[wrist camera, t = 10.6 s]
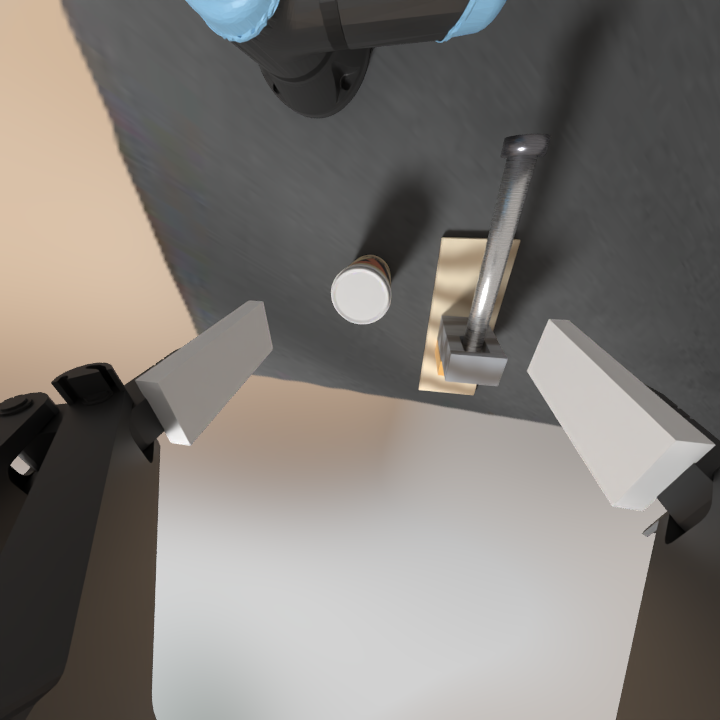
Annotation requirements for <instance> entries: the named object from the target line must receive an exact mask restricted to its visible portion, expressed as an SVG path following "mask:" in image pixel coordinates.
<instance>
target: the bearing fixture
mask: <svg viewBox="0 0 720 720" xmlns="http://www.w3.org/2000/svg"><path fill="white" fill-rule="evenodd" d="M487 239H488V238H458V237H442V239H441V246H440V252H439V259H438V265H437V272H436V278H435V285H434V291H433V298H432V304H431V311H430V317H429V324H428V331H427V337H426V344H425V350H424V357H423V363H422V370H421V376H420V383H419V390H426V391H436V392H446V393H456V394H466V395H474V392H475V389H476V385H477V384H479V385H490V386H498V384H499V381H500V379H501V376H502V373H503V370H504V367H505V365H506V362H507V357H506V355H505V353H504V351H503V350H502V348H501V346H500V344H499V343H498V341H497V338H496V336H495V334H494V333H493V329H494V326H495V323H496V320H497V316H498V313H499V310H500V306H501V303H502V300H503V297H504V293H505V290H506V287H507V283H508V280H509V277H510V274H511V270H512V267H513V264H514V260H515V257H516V254H517V250H518V247H519V244H520V241H521V240H519V239H513V243H512V246H511V250H510V253H509V257H508V260H507V264H506V267H505V271H504V274H503V277H502V281H501V284H500V288H499V291H498V295H497V298H496V302H495V305H494V308H493V312H492V315H491V319H490V322H489V326H488V329H487V333H486V336H485V340H484V343H483V346H482V350H481V352H469V351H464V350H463V347H462V343H463V339H464V335H465V331H466V326H467V322H468V318H469V314H470V310H471V306H472V301H473V297H474V293H475V289H476V285H477V281H478V276H479V272H480V268H481V264H482V260H483V256H484V251H485V247H486V243H487ZM437 340H438V346H439V352H440V358H441V360H442V366H443V372H444V376H442V375H438V372H437V365H436V358H435V348H436V343H437Z"/></svg>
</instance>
